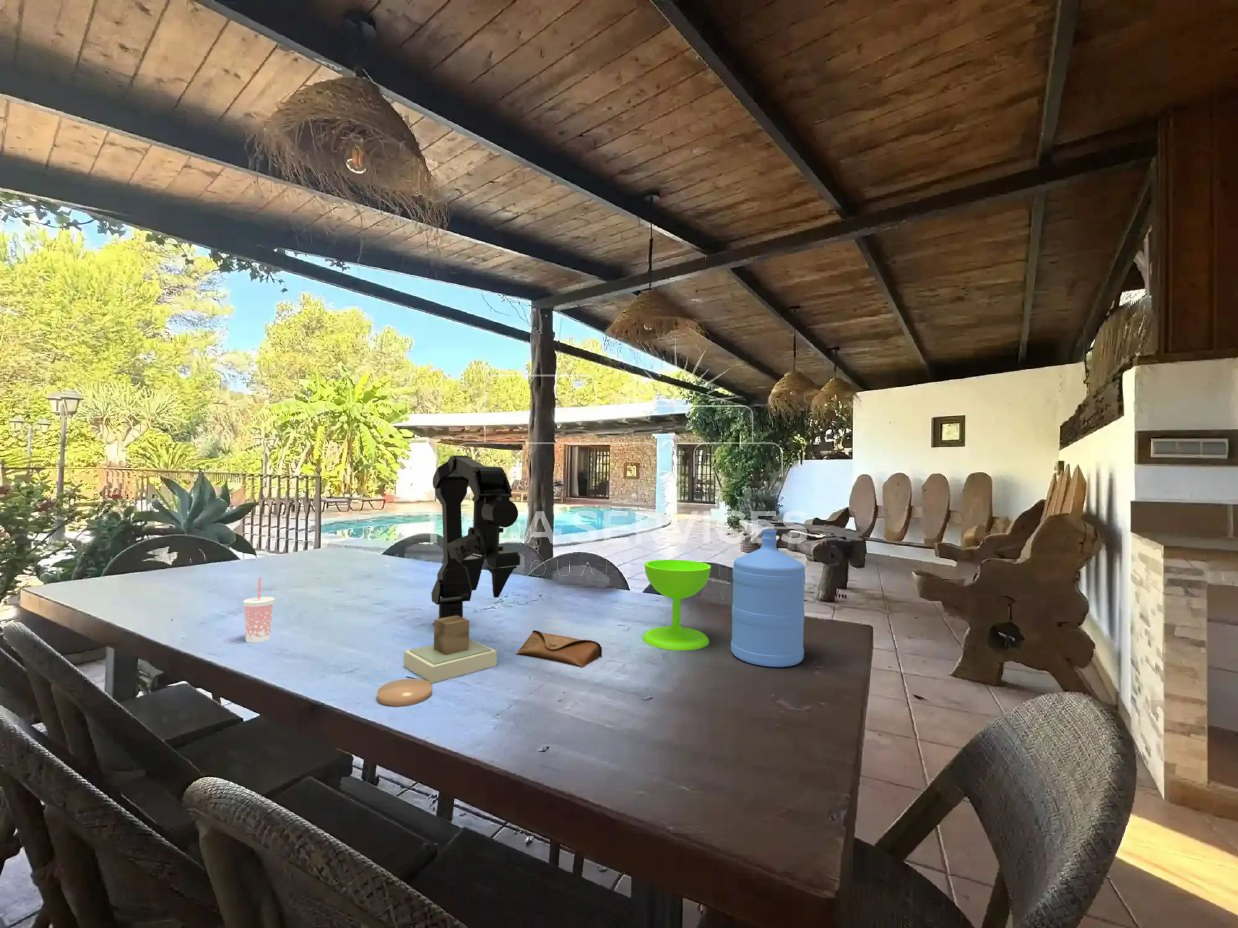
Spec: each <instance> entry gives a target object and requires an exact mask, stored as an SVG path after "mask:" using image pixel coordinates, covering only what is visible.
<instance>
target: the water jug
mask: <svg viewBox="0 0 1238 928" xmlns="http://www.w3.org/2000/svg"><path fill="white" fill-rule="evenodd" d="M761 532H762V536H761V546H760V548H758V549H756V550H753V551H751V552H749V553H746V554H744V555H742V556H740V557H736V558H735V560H733V566H732V582H733V583H732V584H733V585H732V588H733V589H732V605H731V616H732V618H731V619H732V620H731V621H732V623H731V624H732V625H731V627H732V628H731V641H730V650H731V652H732V654H733V656H735V657H736V658H738V659H739V660H741V661H743V662H745V663H748V664H751V665H756V666H761V667H768V668H769V667H770V668H786V667H792V666H795V665H798V664H800V663H801V662H802V661H803V660H804V657H805V656H804V655H805V649H804V623H805V615H806V613H805V585H806V572H805V571H806V567H805V564H804V563H803V562H801V561H799V560H798V559H795V558H794V557H792V556H790V555H788V554H786V553H785V552H783V551H781V550H779V549H778V548H777V532H778V530H776V529H762V530H761Z"/></svg>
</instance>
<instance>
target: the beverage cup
mask: <svg viewBox="0 0 1238 928" xmlns="http://www.w3.org/2000/svg"><path fill="white" fill-rule="evenodd" d="M261 586H262V577H258V586H257V587H258V588H257V597H251V598H247V599H244V600H243V601H242V606H243V607H244V628H245V629H244V631H245V642H247V643H259V642H260V643H261V642H265V641H268V640H270V638H271V628H272V618H273V607H274V603H275V601H276V600H275V599H276V598H275V597H273V596H261V593H262V590H261V588H262V587H261Z"/></svg>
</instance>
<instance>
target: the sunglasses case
mask: <svg viewBox="0 0 1238 928" xmlns="http://www.w3.org/2000/svg"><path fill="white" fill-rule="evenodd" d="M602 649H603V648H602V646H601V644H600V643H599V642H598V641H595V640H591V639H579V638H574V637H571V636H563V635H558V634H553V633H547V632H543V631H542V632H541V631H540V630H535V629H533V630H532V633H531V634H530V635H529V636H528V638H527V639H526V640H525V642H524V643H523V645H522V646H521V647H520V648H519V649H518V651H517V652H516V653H515V652H514V655H515V656H524V657H531V658H536V659H541V660H547V661H552V662H557V663H561V664H565V665H570V666H574V667H579V668H585V667H586V666H588V665H589V664H591V663H592V662H594V661H596V660H597V659H599V658H602V656H603V650H602Z"/></svg>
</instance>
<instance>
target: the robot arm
mask: <svg viewBox="0 0 1238 928" xmlns="http://www.w3.org/2000/svg"><path fill="white" fill-rule="evenodd" d="M432 487H433V488H434V495H435V497H436V499H437V501H438V502H439V504H441V507H442V508H441V509H442V510H441V511H442V512H441V513H442V516H441V517H442V546H443V550H442V551H443V563H442V564H441V567H440V568H439V570H438V571H437V573H436V574H437V577H436V581H435V584H434V586H433V588H432V590H431V593H430V594H431V601H432V603H433V604H435V605H436V606H438V619H440V618H445V617H451V616H456V615H457V616H460V617H462V618H464V617H463V616H464V614H463V613H464V602H471V598H472V593H473V591H476V590H477V588H478V585H479V582H480V577H481V574H482V570H483V567H484V563H485V560H486V563H487V565H488V566H486V569H487V570H488V571H489V573H490V574H491V584H492V597H493V598H495V599H496V598H499V597H500V595H501V593H502V592H503V589H504V587H505V585H506V584H507V581H508V580H509V577H510V576H511V575H512V573H513V571H514V569H515V570H516V569H517V566H520V565H521V557H522V556H521V555H520V553H518V551H513V550H509V549H508V550H505V549H504V546H503V545H500V534H501V533H504V528H508V527H511V526H513V525H514V524H515V523H516V522H517V520H518V517H519V510H518V506H517V505H516V504H515V503H514V502H513V501H511V500H510V499H511V498H512V497H513V495H512V494H513V493H512V492H513V489H512V487H511V485H510V482H509V479H508V477H507V473H506V472H505V470H504V468H503V467H501V466H492V465H491V466H489V465H488V466H486V465H484V464H482V463H480V462H478V461H476V460H475V459H473V458H472V457H471V456H469V455H459V454H458V455H457V454H456V455H450V456H449V458H448V460H447V461H446V462H444V463H443V464H441V465H439V466H438V467H437V468H436V470H435V472H434V474H433V477H432ZM468 487H469V488H470V490H471V492H472V494H473V497H472V499H471V500H472V502H473V520H472V521H473V522H472V523H473V524H472V527H469V528H468V530H467V535H464V536H463V528H462V527H463V525H462V523H463V522H462V503H463V501H464V499H465V498H466V496H467V494H468ZM432 626H434V622H432Z"/></svg>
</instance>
